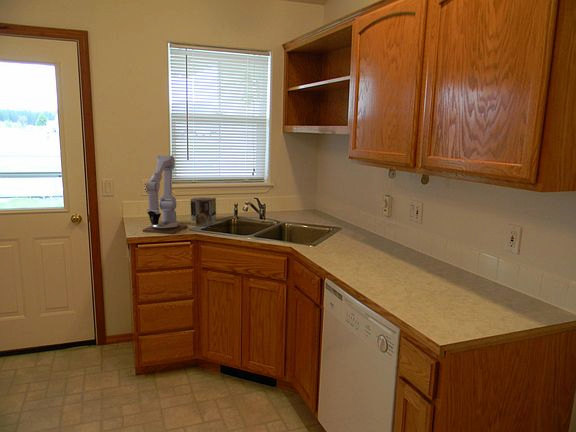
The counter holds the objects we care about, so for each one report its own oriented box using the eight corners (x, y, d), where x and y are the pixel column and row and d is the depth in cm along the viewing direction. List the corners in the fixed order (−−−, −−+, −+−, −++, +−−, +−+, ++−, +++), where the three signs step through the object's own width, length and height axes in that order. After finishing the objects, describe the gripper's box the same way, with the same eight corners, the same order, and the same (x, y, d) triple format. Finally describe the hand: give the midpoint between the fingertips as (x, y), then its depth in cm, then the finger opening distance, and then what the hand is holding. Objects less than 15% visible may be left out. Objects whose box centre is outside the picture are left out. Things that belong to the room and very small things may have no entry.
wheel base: (158, 225, 288) (158, 222, 288) (187, 227, 284) (187, 224, 283) (142, 231, 270) (142, 228, 270) (173, 234, 266) (173, 230, 265)
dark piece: (216, 218, 314) (216, 197, 312) (212, 221, 305) (211, 199, 302) (195, 217, 316) (195, 196, 314) (190, 220, 307) (190, 198, 304)
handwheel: (178, 222, 287) (178, 213, 286) (181, 227, 271) (180, 218, 270) (150, 223, 282) (150, 214, 281) (151, 229, 266) (151, 219, 265)
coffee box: (212, 224, 294) (211, 199, 291) (209, 226, 288) (209, 201, 285) (198, 223, 295) (198, 199, 292) (195, 226, 289) (195, 201, 286)
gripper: (143, 200, 274) (144, 222, 276) (150, 203, 262) (151, 226, 265) (154, 199, 278) (155, 221, 280) (162, 202, 266) (163, 225, 268)
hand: (154, 223), depth 273 cm, fingers open, 5 cm apart
